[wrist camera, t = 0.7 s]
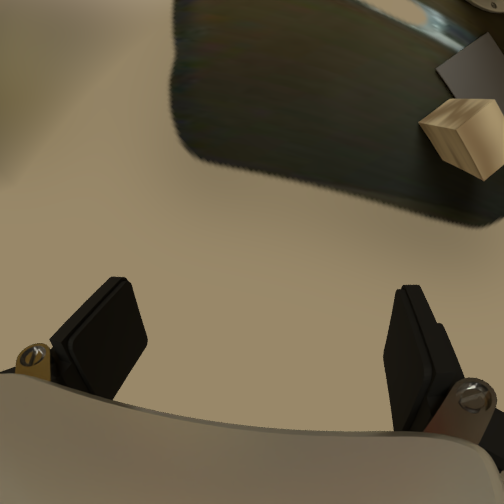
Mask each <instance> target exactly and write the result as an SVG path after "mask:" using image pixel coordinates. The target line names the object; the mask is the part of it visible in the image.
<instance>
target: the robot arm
mask: <svg viewBox="0 0 504 504" xmlns="http://www.w3.org/2000/svg"><path fill="white" fill-rule="evenodd" d="M466 1H467V2H469V3H470V4H472V5H473V6H475V7H477V8H479V9H482V10H484V11H487V12H491V13H504V0H466ZM50 342H51V344H52V346H53V347H52V349H50V348H49V347H48V346H47V345H46V344H43V343H37V344H33V345H30V346H28V347H26V348H25V349H24V350H22V351H21V353H20V354H19V355H18V357H17V360H16V367H13V368H11V369H8V370H5V371H2V372H0V504H504V412H502V411H500V410H498V409H497V408H496V404H497V397H496V393H495V392H494V389H493V388H492V387H491V386H490V385H489V384H488V383H486V382H485V381H483V380H480V379H477V378H465V377H464V375H463V372H462V369H461V367H460V364H459V362H458V359H457V357H456V354H455V352H454V350H453V347H452V345H451V342H450V340H449V338H448V335H447V333H446V331H445V329H444V327H443V325H442V324H441V323H437V322H436V320H435V318H434V315H433V313H432V311H431V309H430V307H429V304H428V302H427V300H426V298H425V296H424V293H423V291H422V289H421V287H420V286H419V285H403V286H402V288H401V289H397V290H396V293H395V299H394V305H393V310H392V316H391V320H390V325H389V330H388V335H387V340H386V344H385V349H384V355H383V360H384V367H385V373H386V379H387V385H388V391H389V398H390V405H391V412H392V420H393V427H394V431H372V432H371V431H368V432H342V431H308V430H289V429H276V428H265V427H264V428H263V427H254V426H244V425H237V424H228V423H222V422H215V421H208V420H202V419H195V418H190V417H184V416H179V415H174V414H169V413H164V412H159V411H155V410H150V409H145V408H142V407H137V406H133V405H129V404H125V403H121V402H117V401H113V398H114V397H115V395H116V393H117V392H118V390H119V389H120V387H121V386H122V384H123V382H124V381H125V379H126V377H127V376H128V374H129V373H130V371H131V370H132V368H133V367H134V365H135V363H136V362H137V360H138V359H139V357H140V356H141V354H142V352H143V351H144V349H145V348H146V346H147V342H148V339H147V335H146V332H145V329H144V325H143V322H142V319H141V316H140V312H139V309H138V305H137V302H136V299H135V295H134V292H133V288H132V285H131V283H130V282H129V281H128V280H127V279H126V278H125V277H110V278H109V279H108V280H107V281H106V282H105V283H104V284H103V285H102V286H101V287H100V288H99V289H98V290H97V291H96V292H95V293H94V294H93V295H92V296H91V297H90V298H89V299H88V300H87V301H86V302H85V303H84V304H83V305H82V306H81V307H80V308H79V309H78V310H77V311H76V312H75V313H74V314H73V315H72V316H71V317H70V318H69V319H68V320H67V321H66V322H65V323H64V324H63V325H62V326H61V327H60V328H59V330H58V331H57V332H56V333H55V334H54V335H53V336H52V337H51V338H50Z"/></svg>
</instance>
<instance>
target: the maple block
mask: <svg viewBox="0 0 504 504" xmlns="http://www.w3.org/2000/svg"><path fill="white" fill-rule="evenodd" d="M418 123H419V124H420V126H421V127H422V129H423V130H424V132H425V133H426V135H427V136H428V138H429V139H430V141H431V142H432V144H433V146H434V147H435V149H436V150H437V152H438V154H439V155H440V157H441V158H442V160H443V161H445V162H447V163H450V164H452V165H454V166H456V167H458V168H460V169H462V170H464V171H466V172H468V173H470V174H472V175H474V176H475V177H477V178H479V179H481V180H483V181H485V180H486V179H487V178H488V177H489V176H491V175H492V174H493V173H494V172H495V171H497V170H498V169H499V168H500V167H501V166H503V165H504V116H503V114H502V112H501V110H500V108H499V106H498V104H497V103H496V101H495V99H449V100H447V101H446V102H445V103H443V104H442V105H441V106H439V107H438V108H437V109H435V110H434V111H433V112H432V113H430V114H429V115H428V116H426V117H425V118H424V119H422V120H421V121H420V122H418Z"/></svg>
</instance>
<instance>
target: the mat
mask: <svg viewBox="0 0 504 504" xmlns="http://www.w3.org/2000/svg"><path fill="white" fill-rule="evenodd" d="M436 71H437V72H438V74H439V75H440V76H441V78H442V79H443V81H444V82H445V84H446V85H447V86H448V88H449V89H450V91H451V92H452V94H453V95H454V97H455V99H495V101H496V103H497V104H498V106H499V108H500V110H501V112H502V114H503V116H504V55H503V53H502V52H501V50H500V49H499V47H498V46H497V44H496V43H495V41H494V40H493V38H492V37H491V35H490V34H489V32H487V33H486V34H484V35H483V36H481V37H480V38H478V39H477V40H475V41H474V42H473V43H471V44H470V45H468V46H467V47H465V48H464V49H463V50H461V51H460V52H458V53H457V54H455V55H454V56H453V57H451V58H450V59H448V60H447V61H446V62H444V63H443V64H442V65H440V66H439V67H437V68H436Z"/></svg>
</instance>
